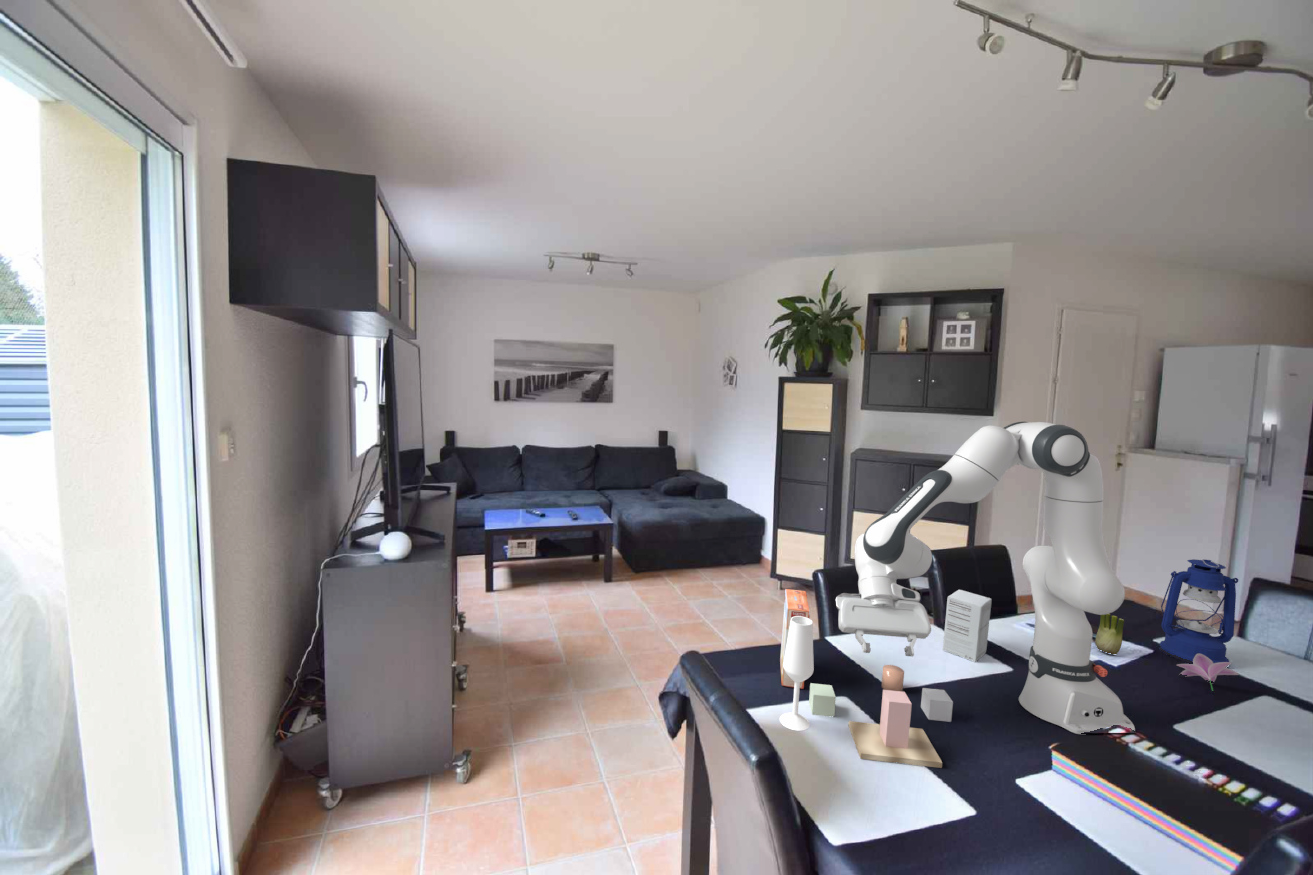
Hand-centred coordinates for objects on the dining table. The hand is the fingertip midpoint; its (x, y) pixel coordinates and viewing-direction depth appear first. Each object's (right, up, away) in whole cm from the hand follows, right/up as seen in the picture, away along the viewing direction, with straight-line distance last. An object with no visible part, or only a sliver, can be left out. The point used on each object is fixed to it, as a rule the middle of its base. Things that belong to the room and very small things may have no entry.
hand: (888, 653), depth 124 cm
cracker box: (-17, -14, +21) cm, 31 cm away
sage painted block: (-13, -16, +6) cm, 22 cm away
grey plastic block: (+14, -17, +6) cm, 23 cm away
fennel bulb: (+83, -16, +41) cm, 94 cm away
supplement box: (+39, -15, +38) cm, 56 cm away
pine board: (-2, -17, -6) cm, 19 cm away
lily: (+95, -19, +24) cm, 100 cm away
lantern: (+109, -17, +41) cm, 118 cm away
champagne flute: (-21, -16, +1) cm, 26 cm away
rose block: (-2, -16, -6) cm, 17 cm away
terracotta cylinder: (+8, -16, +17) cm, 24 cm away
